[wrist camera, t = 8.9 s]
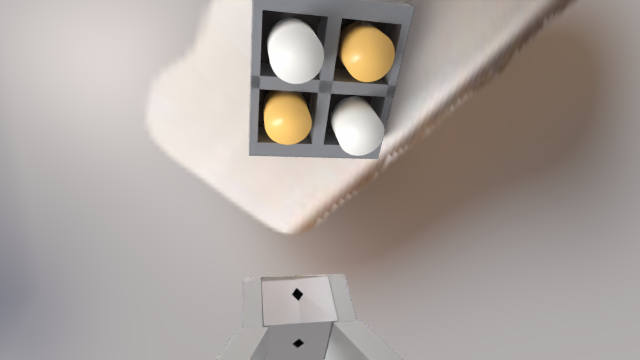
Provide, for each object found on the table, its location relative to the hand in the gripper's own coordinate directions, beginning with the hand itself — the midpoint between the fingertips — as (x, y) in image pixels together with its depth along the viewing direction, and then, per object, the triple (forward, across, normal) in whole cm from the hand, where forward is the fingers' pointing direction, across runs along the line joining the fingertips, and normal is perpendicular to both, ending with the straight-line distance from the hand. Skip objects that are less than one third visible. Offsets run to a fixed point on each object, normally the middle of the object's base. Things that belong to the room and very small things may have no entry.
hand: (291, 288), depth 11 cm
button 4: (+16, -6, -3) cm, 18 cm away
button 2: (+15, -6, +1) cm, 16 cm away
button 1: (+16, -1, +1) cm, 16 cm away
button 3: (+15, -1, -3) cm, 16 cm away
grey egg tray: (+17, -3, -1) cm, 17 cm away
